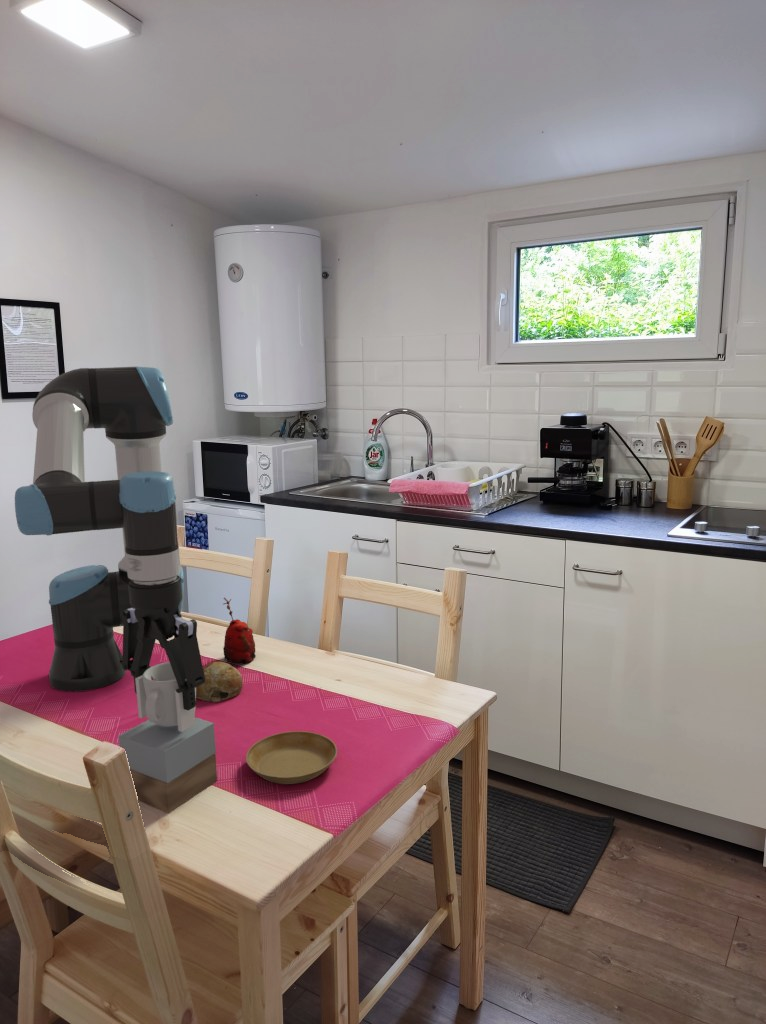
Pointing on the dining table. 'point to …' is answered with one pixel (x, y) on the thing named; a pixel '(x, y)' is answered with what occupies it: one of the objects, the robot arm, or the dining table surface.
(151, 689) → the cup
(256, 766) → the plant saucer
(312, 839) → the dining table surface
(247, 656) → the red textured ornament
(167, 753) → the grey block
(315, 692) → the dining table surface
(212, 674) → the bread roll
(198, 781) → the walnut block
